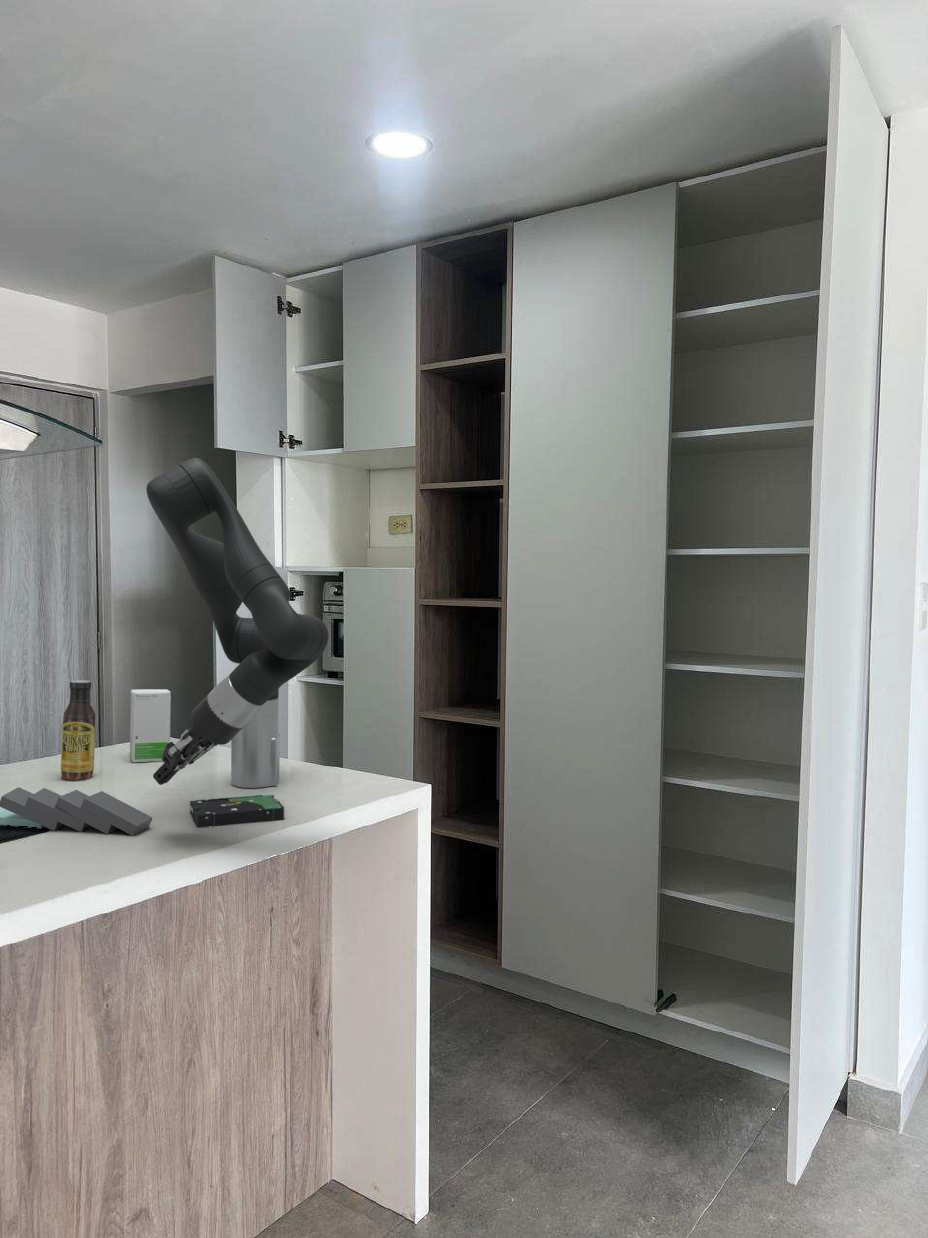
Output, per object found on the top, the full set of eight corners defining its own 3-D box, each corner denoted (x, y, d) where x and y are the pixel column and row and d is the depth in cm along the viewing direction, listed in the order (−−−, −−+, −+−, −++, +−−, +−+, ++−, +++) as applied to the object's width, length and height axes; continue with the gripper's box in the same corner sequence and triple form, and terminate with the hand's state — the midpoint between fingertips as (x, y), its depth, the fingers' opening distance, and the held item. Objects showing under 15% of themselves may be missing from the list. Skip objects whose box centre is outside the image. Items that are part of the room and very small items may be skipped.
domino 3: (98, 812, 153) (44, 787, 153) (84, 822, 148) (28, 797, 148) (94, 821, 153) (40, 797, 153) (80, 832, 148) (24, 806, 148)
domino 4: (127, 816, 152) (76, 789, 153) (111, 824, 147) (58, 797, 148) (123, 825, 152) (72, 799, 153) (107, 834, 147) (54, 807, 148)
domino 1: (72, 811, 153) (18, 787, 153) (57, 821, 148) (1, 796, 148) (68, 820, 153) (14, 796, 153) (54, 831, 148) (-2, 806, 148)
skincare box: (131, 763, 200) (131, 693, 199) (129, 757, 206) (128, 689, 205) (171, 760, 203) (171, 691, 202) (167, 755, 209) (167, 687, 208)
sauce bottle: (57, 782, 182) (56, 682, 181) (65, 774, 188) (64, 679, 187) (91, 781, 183) (91, 682, 182) (98, 774, 189) (98, 678, 188)
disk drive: (196, 832, 151) (285, 822, 157) (196, 815, 151) (285, 806, 157) (189, 816, 161) (273, 807, 167) (188, 800, 161) (272, 792, 167)
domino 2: (60, 812, 155) (9, 808, 157) (41, 820, 150) (-12, 816, 152) (60, 823, 155) (9, 819, 157) (41, 831, 150) (-12, 827, 152)
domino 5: (152, 817, 151) (101, 791, 152) (136, 826, 146) (84, 798, 148) (148, 827, 151) (98, 800, 153) (132, 836, 146) (80, 808, 148)
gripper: (221, 732, 136) (148, 807, 139) (263, 720, 148) (195, 788, 152) (190, 695, 137) (118, 770, 140) (234, 686, 149) (167, 755, 153)
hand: (158, 779), depth 146 cm, fingers closed
